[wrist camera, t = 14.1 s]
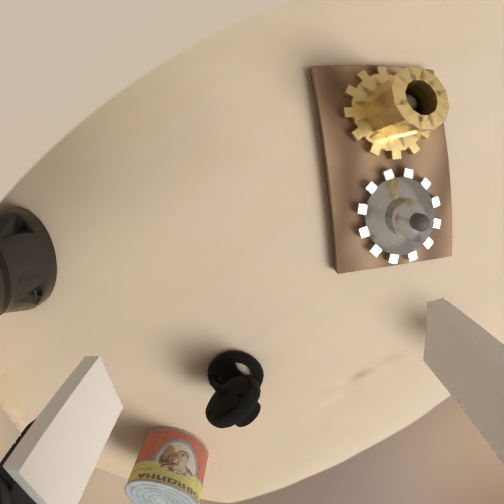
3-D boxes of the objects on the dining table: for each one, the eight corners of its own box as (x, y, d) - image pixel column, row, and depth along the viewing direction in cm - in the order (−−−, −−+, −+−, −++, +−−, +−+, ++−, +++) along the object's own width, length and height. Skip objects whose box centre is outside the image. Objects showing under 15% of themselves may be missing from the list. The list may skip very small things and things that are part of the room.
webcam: (232, 401, 43) (226, 451, 33) (196, 368, 42) (181, 416, 32) (275, 375, 41) (278, 425, 32) (239, 339, 40) (234, 385, 31)
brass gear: (348, 162, 33) (377, 158, 25) (333, 69, 31) (355, 39, 22) (432, 158, 33) (474, 156, 24) (417, 71, 30) (454, 50, 22)
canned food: (218, 442, 45) (209, 499, 33) (196, 474, 47) (186, 524, 36) (152, 417, 44) (130, 471, 32) (139, 452, 47) (120, 500, 35)
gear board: (334, 269, 38) (353, 294, 30) (309, 70, 32) (323, 43, 24) (446, 253, 37) (481, 270, 29) (427, 72, 32) (461, 54, 23)
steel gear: (358, 266, 36) (371, 279, 31) (350, 171, 34) (364, 171, 29) (436, 254, 35) (456, 264, 31) (432, 166, 33) (454, 166, 28)
